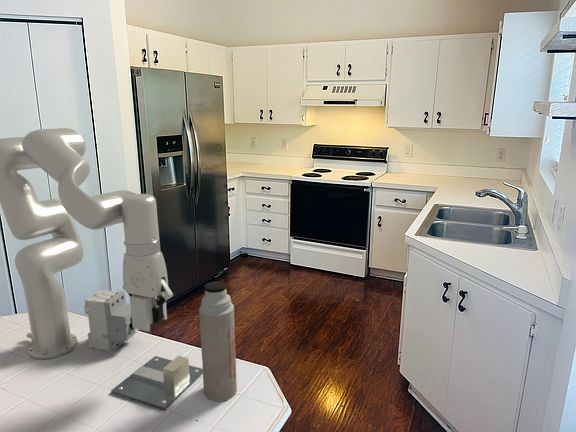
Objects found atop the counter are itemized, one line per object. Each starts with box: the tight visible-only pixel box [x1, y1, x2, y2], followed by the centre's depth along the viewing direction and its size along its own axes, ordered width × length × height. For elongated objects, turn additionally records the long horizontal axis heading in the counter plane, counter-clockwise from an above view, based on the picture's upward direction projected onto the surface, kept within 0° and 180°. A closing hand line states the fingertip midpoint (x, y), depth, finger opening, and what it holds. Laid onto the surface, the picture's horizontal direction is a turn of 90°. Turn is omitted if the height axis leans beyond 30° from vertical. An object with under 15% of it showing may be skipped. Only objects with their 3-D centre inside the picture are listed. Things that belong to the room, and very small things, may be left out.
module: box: [129, 293, 168, 332], centre depth 102 cm, size 4×7×9 cm, turn 157°
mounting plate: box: [110, 355, 203, 412], centre depth 106 cm, size 16×16×7 cm
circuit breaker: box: [83, 289, 140, 352], centre depth 122 cm, size 8×14×15 cm, turn 78°
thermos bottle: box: [198, 281, 238, 403], centre depth 100 cm, size 8×8×28 cm
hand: (150, 318), depth 103 cm, fingers closed on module, 4 cm apart
